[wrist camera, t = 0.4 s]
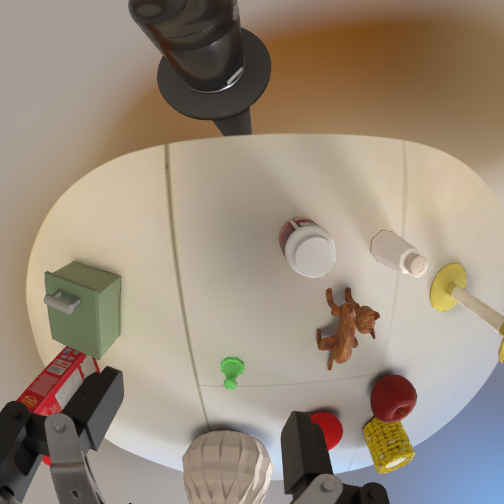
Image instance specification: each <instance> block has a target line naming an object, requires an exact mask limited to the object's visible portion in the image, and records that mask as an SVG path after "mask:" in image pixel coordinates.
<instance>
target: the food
mask: <svg viewBox="0 0 504 504" xmlns="http://www.w3.org/2000/svg"><path fill="white" fill-rule="evenodd" d="M363 432H364V435H365V439H366V443H367V446H368V447H369V451H370V454H371V455H372V459H373V462H374V465H375V468H377V469H376V470H377V471H378V473H383V474H384V473H386V472H387V473H389V472H391V471H395V470H397V468H399V467H402V466H403V465H407V464H408V463H409V461H411V460H412V458H413V457H414V456H415V453H414V450H413V448H412V445H411V444H410V441H409V439H408V436H407V434H406V432H405V430H404V427H403V425H402V424H401V422H400V420H399V421H397V422H393V423H385V422H382V421H380V420H378V419H377V418H376V417H375V418H373V420H372V422H369V423H368V424H367V425H365V426H364V429H363Z"/></svg>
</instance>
